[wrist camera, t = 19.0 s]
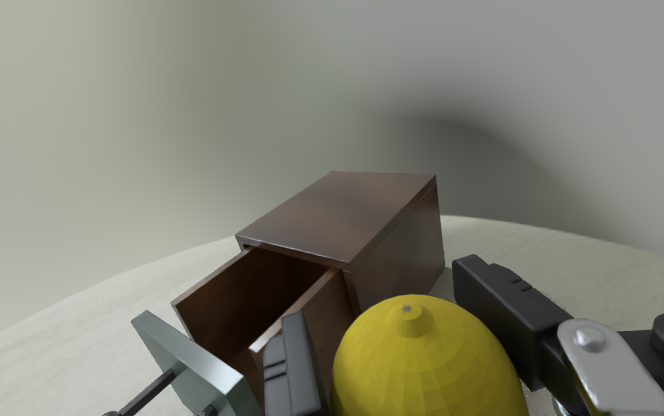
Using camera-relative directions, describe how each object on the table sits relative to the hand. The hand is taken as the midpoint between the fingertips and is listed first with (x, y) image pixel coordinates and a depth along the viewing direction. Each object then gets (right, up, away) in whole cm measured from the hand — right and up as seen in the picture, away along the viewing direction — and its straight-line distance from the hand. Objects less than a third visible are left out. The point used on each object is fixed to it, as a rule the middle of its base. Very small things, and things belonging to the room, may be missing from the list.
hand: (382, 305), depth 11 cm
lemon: (+2, -6, 0) cm, 7 cm away
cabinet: (+1, -6, +23) cm, 24 cm away
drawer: (-7, -11, +14) cm, 19 cm away
